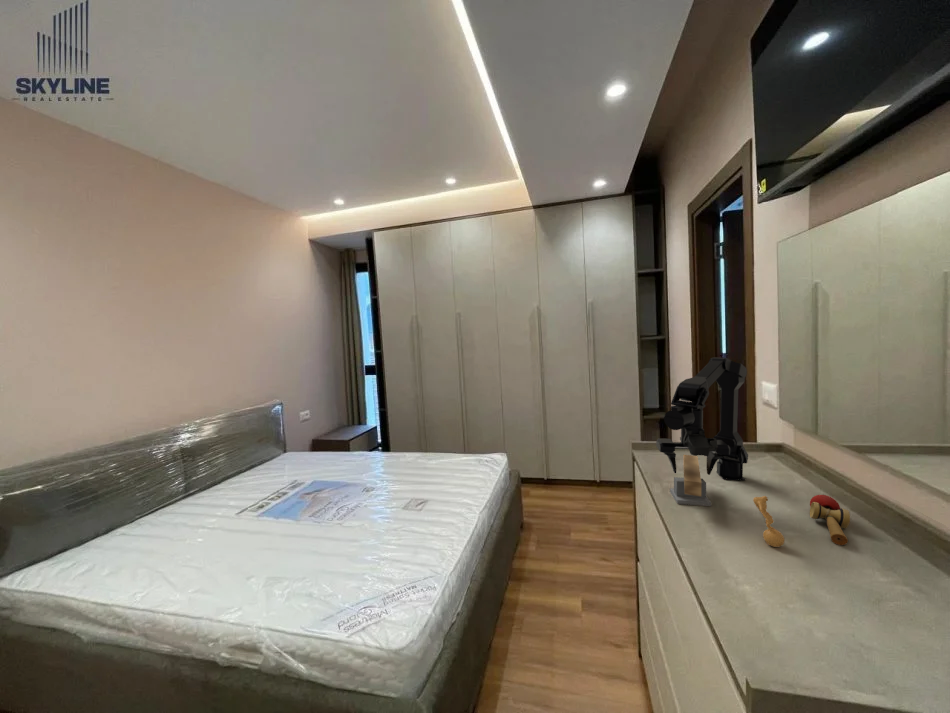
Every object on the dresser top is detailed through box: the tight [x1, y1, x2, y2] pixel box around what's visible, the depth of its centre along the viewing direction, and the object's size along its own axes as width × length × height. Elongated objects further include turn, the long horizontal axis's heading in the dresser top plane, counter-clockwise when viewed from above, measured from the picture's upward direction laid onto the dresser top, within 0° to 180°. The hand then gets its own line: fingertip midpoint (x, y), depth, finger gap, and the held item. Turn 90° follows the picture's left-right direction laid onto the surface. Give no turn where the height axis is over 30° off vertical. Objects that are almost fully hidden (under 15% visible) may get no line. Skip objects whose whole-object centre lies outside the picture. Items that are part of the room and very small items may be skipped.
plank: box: [682, 454, 702, 496], centre depth 111 cm, size 4×22×4 cm, turn 151°
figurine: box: [752, 495, 785, 548], centre depth 88 cm, size 8×6×12 cm
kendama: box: [809, 494, 851, 546], centre depth 94 cm, size 8×6×18 cm
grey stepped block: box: [669, 476, 712, 507], centre depth 112 cm, size 9×8×6 cm
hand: (691, 473), depth 111 cm, fingers open, 9 cm apart
